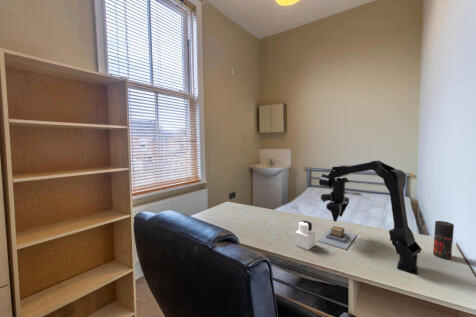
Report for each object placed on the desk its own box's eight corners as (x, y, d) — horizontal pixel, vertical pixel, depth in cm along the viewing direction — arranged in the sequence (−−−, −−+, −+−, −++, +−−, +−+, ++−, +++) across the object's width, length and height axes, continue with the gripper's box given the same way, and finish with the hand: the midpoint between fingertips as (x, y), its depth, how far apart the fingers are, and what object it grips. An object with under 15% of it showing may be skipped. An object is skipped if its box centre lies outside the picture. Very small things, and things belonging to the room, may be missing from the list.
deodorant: (432, 251, 102) (434, 219, 100) (450, 255, 98) (453, 222, 97) (433, 256, 97) (435, 223, 96) (452, 261, 93) (454, 227, 92)
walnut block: (341, 240, 113) (341, 231, 112) (331, 237, 116) (331, 228, 115) (343, 237, 116) (344, 227, 116) (334, 234, 120) (334, 225, 119)
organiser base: (346, 249, 104) (346, 245, 104) (317, 241, 113) (317, 237, 113) (356, 235, 119) (356, 231, 119) (330, 228, 128) (330, 225, 128)
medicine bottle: (302, 240, 114) (302, 218, 113) (315, 245, 109) (315, 221, 108) (294, 245, 109) (295, 222, 108) (308, 250, 104) (308, 226, 103)
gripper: (328, 184, 126) (328, 211, 128) (316, 190, 112) (315, 220, 113) (350, 187, 119) (349, 215, 120) (339, 194, 105) (338, 225, 106)
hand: (337, 218), depth 115 cm, fingers open, 9 cm apart
